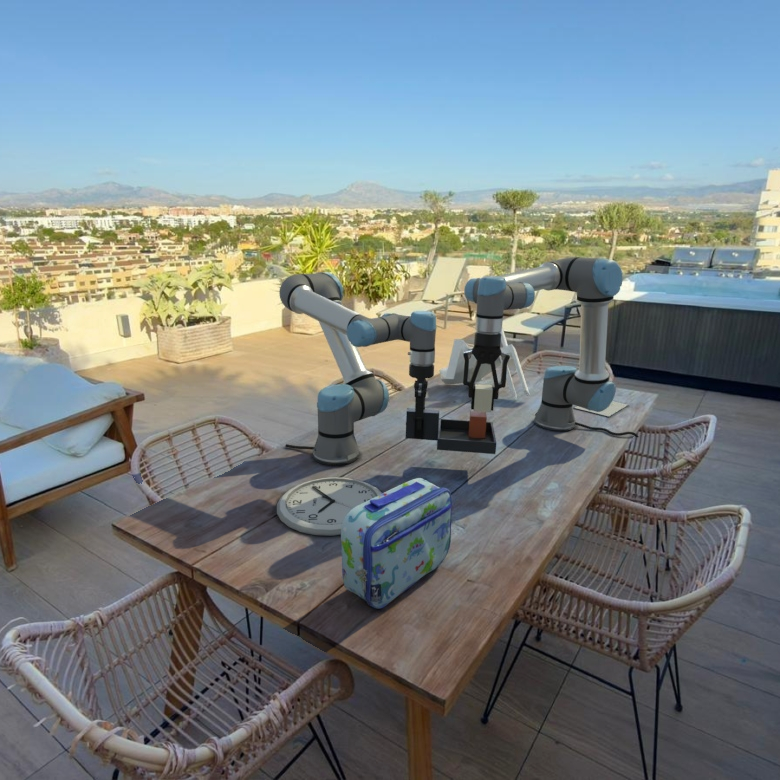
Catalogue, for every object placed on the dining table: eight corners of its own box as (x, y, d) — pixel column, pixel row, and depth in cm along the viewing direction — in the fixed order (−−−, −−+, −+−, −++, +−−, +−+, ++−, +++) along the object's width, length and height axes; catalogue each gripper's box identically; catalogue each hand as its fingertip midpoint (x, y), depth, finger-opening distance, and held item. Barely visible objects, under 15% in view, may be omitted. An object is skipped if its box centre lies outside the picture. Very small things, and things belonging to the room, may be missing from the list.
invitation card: (608, 416, 214) (573, 407, 224) (608, 416, 214) (573, 408, 224) (628, 404, 229) (594, 396, 238) (628, 405, 229) (594, 397, 238)
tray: (491, 432, 170) (494, 406, 167) (495, 454, 154) (498, 425, 151) (408, 426, 173) (409, 400, 170) (403, 447, 156) (404, 419, 154)
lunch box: (370, 622, 101) (370, 527, 94) (335, 595, 108) (333, 505, 102) (455, 565, 118) (460, 481, 112) (420, 544, 125) (423, 465, 119)
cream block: (489, 407, 159) (491, 385, 157) (490, 412, 154) (492, 389, 152) (473, 406, 160) (474, 384, 158) (473, 411, 155) (475, 388, 153)
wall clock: (392, 527, 129) (268, 531, 127) (391, 533, 130) (269, 537, 127) (383, 473, 158) (282, 475, 155) (383, 478, 158) (282, 480, 156)
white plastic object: (461, 429, 252) (437, 405, 227) (444, 352, 274) (420, 323, 250) (535, 404, 240) (518, 377, 215) (510, 326, 262) (492, 293, 237)
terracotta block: (484, 432, 168) (486, 412, 166) (484, 438, 163) (486, 417, 161) (468, 431, 168) (470, 411, 166) (468, 437, 164) (470, 416, 162)
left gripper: (411, 356, 165) (409, 426, 172) (407, 369, 150) (404, 445, 157) (435, 357, 164) (432, 427, 171) (433, 371, 149) (429, 446, 156)
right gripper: (518, 331, 153) (511, 406, 159) (456, 328, 155) (451, 402, 161) (521, 335, 145) (513, 414, 152) (456, 332, 147) (451, 410, 154)
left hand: (419, 435), depth 164 cm, fingers closed on tray, 3 cm apart
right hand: (482, 408), depth 157 cm, fingers closed on cream block, 5 cm apart
